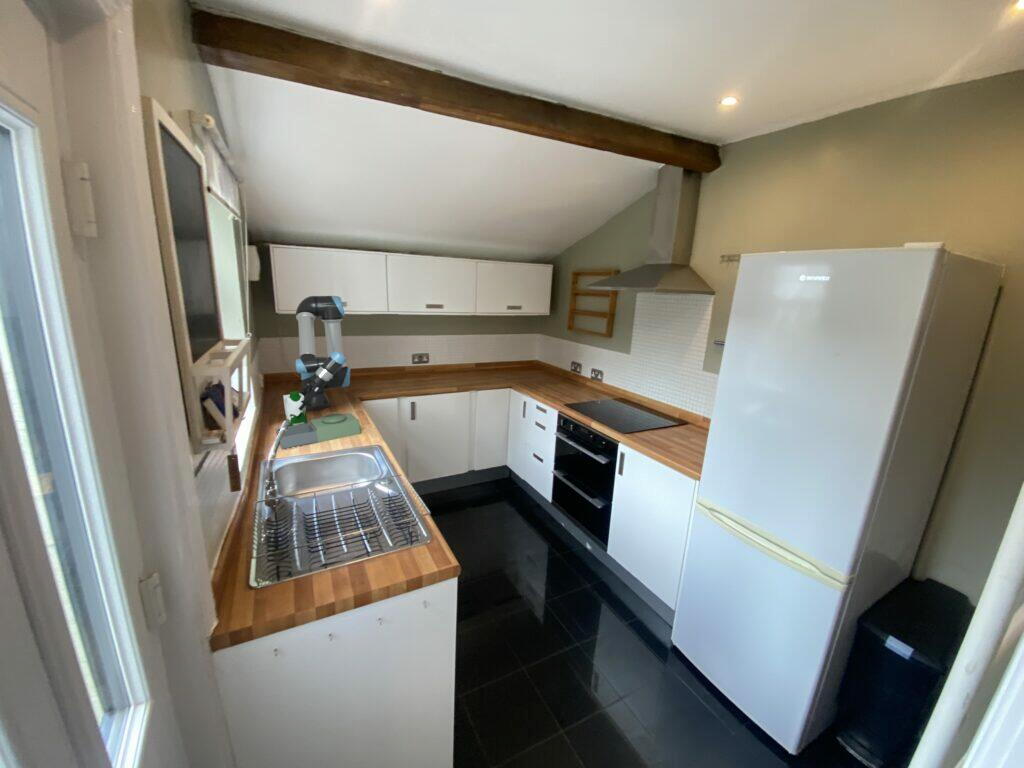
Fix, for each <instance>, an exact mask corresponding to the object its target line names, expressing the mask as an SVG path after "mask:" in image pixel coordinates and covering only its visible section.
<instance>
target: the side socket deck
mask: <svg viewBox="0 0 1024 768" xmlns="http://www.w3.org/2000/svg"><path fill="white" fill-rule="evenodd" d="M287 427H288V426H287ZM281 428H282V427H279V428H276V429H275V432H276V436H277V435H278V433H279V431H280V429H281ZM357 435H361V428H360V420H359V419H358V417H356V416H355V415H354V414H352V413H351V412H348V413H331V414H330V413H329V414H327V415H324V416H322V417H320V418H313V419H309V422H307V423H306V424H301V425H295V426H290V427H288V429H287V431H286V432H285V434H284V437H282V438H281V440H280V444H279V446H280V448H281V450H282V449H285V450H288V449H287V448H290V449H293V448H292V447H295V448H298V447H297V446H300V447H304V446H303V445H305V446H309V445H315V444H318V443H323V442H327V441H328V442H329V441H332V440H337V439H342V438H347V437H350V436H351V437H352V436H357Z"/></svg>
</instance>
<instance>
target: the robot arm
mask: <svg viewBox="0 0 1024 768" xmlns="http://www.w3.org/2000/svg"><path fill="white" fill-rule="evenodd" d="M295 310H296V311H295V318H296V321H297V323H298V341H299V342H298V343H299V345H298V347H299V358H296V360H295V370H296V372H297V374H300V377H301V379H300V380H301V387H302V388H301V389H300V390H299V391H298V392H299V393H300V394H302V395H303V396H304V400H303V401H301V403H300V404H299V405H298V407H297V408H296V409H295V410H294V411H293V412H292V414H294V415H296V416H298V415H299V414H300V413H301V411H302V410H303V409H304V408H306V411H316V410H322V409H326V408H328V407H330V406H331V405H330V404H331V403H330V400H329V398H328V396H327V394H326V390H327V389H328V390H329V389H339V388H340V389H341V388H346V387H349V386H350V383H351V367H349V366H348V364H347V363H346V361H347V357H346V356H345V355H344V346H343V337H342V336H343V335H342V326H341V322H342V321H343V319H344V318H343V317H345V316H346V315H345V310H344V305H343V302H342V298H341V296H338V295H311V296H307V297H305V298H304V299H302V300H301V301H300V303H299V304H298V306H297V308H296V309H295ZM316 318H320V320H321V321H322V323H323V324H324V331H325V342H326V349H327V350H326V351H327V357H317V354H316V341H315V339H316V338H315V325H314V324H315V323H314V321H315V320H316Z"/></svg>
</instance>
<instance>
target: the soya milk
mask: <svg viewBox="0 0 1024 768" xmlns="http://www.w3.org/2000/svg"><path fill="white" fill-rule="evenodd" d="M282 397H283V405H284V406H283V407H284V413H285V420H289V421H290V425H289V427H290V426H295V425H301V424H306V423H308V418H307V416H308V415H307V410H306V408H304V409H303V410H302V411H301V413H300V414H299V415H298V416H296V415H294V414H292V412H293V411H294V410H295V409H296V408H297V407H298V405H299V404H300V403H301V401H303V400H304V396H303V395H302V394H300V393H299V391H297V390H296V391H290V392H289V394H285V395H284V394H283V396H282Z"/></svg>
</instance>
